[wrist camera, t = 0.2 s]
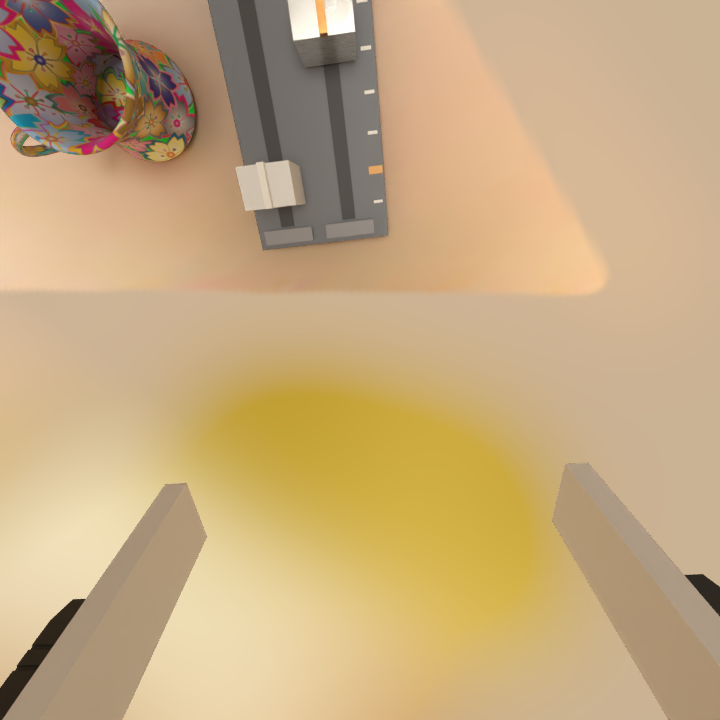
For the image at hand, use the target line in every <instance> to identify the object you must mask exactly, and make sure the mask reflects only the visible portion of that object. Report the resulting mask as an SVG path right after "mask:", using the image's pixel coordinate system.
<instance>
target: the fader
mask: <svg viewBox="0 0 720 720" xmlns="http://www.w3.org/2000/svg"><path fill="white" fill-rule="evenodd" d="M287 1H288V8H289V14H290V21H291V28H292V35H293V41H294V43H295V45H296V48H297V50H298V52H299V55H300V57H301V59H302V61H303V64H304V66H305V68H307V67H314V66H321V65H328V64H335V63H342V62H349V61H355V60H356V40H355V25H354V14H353V3H352V0H287Z"/></svg>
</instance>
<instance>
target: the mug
mask: <svg viewBox="0 0 720 720" xmlns="http://www.w3.org/2000/svg"><path fill="white" fill-rule="evenodd" d="M0 107H1V109H2V110H3V111H4V112H5V113H6V115H7V116H8V117H9V118H10V119H11V120H12V121H13V122H14V123H15V124H16V125H17V127H16V128H15V130H14V131H13V133H12V135H11V144H12V146H13V147H14V148H15V149H16V150H17V151H18V152H19V153H21V154H22V155H25V156H29V157H38V156H45V155H49V154H53V153H57V152H64V153H68V154H75V155H88V154H94V153H98V152H100V151H103V150H105V149H107V148H109V147H110V146H112V145H113V144H115V143H117V144H118V145H119V146H120V147H121V148H123V149H124V150H125V151H127V152H128V153H130V154H131V155H133V156H135V157H137V158H139V159H142V160H146V161H151V162H163V161H167V160H170V159H173V158H175V157H176V156H178V155H179V154H180V153H182V152H183V151H184V149H185V148H186V147H187V145H188V144H189V142H190V140H191V138H192V135H193V132H194V127H195V107H194V101H193V97H192V94H191V91H190V89H189V86H188V84H187V82H186V80H185V78H184V76H183V75H182V73H181V72H180V70H179V69H178V67H177V66H176V65H175V64H174V63H173V61H172V60H171V59H170V58H169V57H168V56H166V55H165V54H164V53H163V52H161V51H160V50H158V49H157V48H155V47H153V46H151V45H149V44H147V43H144V42H140V41H134V40H125V41H124V40H123V38H122V36H121V34H120V32H119V30H118V28H117V26H116V25H115V23H114V21H113V20H112V18H111V16H110V15H109V14H108V12H107V11H106V9H105V8H104V7H103V5H102V4H101V3H100V2H99V0H0ZM29 136H31V137H32V138H34V139H35V140H37V141H38V142H40V143H42V145H36V146H23V144H24V142H25V140H26V139H27V138H28V137H29Z"/></svg>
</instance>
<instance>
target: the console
mask: <svg viewBox="0 0 720 720" xmlns="http://www.w3.org/2000/svg"><path fill="white" fill-rule="evenodd" d="M352 3H353V14H354V25H355V40H356V60H355V61H349V62H342V63H335V64H328V65H321V66H314V67H307V68H305V66H304V64H303V61H302V59H301V57H300V55H299V52H298V50H297V48H296V45H295V43H294V41H293V35H292V28H291V21H290V14H289V8H288V1H287V0H208V4H209V8H210V13H211V17H212V22H213V26H214V31H215V35H216V40H217V44H218V49H219V53H220V58H221V62H222V67H223V71H224V76H225V80H226V85H227V89H228V94H229V98H230V103H231V107H232V112H233V116H234V121H235V126H236V130H237V135H238V139H239V144H240V148H241V153H242V157H243V162H244V166H240V167H235V169H236V173H237V177H238V182H239V186H240V190H241V195H242V199H243V203H244V208H245V211H251V210H254V211H255V216H256V220H257V225H258V229H259V234H260V238H261V243H262V247H263V250H269V249H277V248H286V247H294V246H303V245H311V244H320V243H329V242H337V241H346V240H354V239H363V238H371V237H380V236H388V221H387V207H386V194H385V180H384V166H383V152H382V139H381V125H380V111H379V97H378V84H377V70H376V56H375V42H374V29H373V15H372V1H371V0H352Z"/></svg>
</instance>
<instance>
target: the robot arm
mask: <svg viewBox="0 0 720 720" xmlns="http://www.w3.org/2000/svg"><path fill="white" fill-rule="evenodd" d="M552 522H553V523H554V525H555V527H556V529H557V531H558V532H559V534H560V536H561V537H562V539H563V541H564V542H565V544H566V546H567V548H568V549H569V551H570V552H571V554H572V556H573V558H574V560H575V561H576V563H577V565H578V566H579V568H580V570H581V571H582V573H583V575H584V576H585V578H586V580H587V582H588V583H589V585H590V587H591V588H592V590H593V592H594V594H595V595H596V597H597V599H598V600H599V602H600V604H601V606H602V607H603V609H604V611H605V612H606V614H607V616H608V618H609V619H610V621H611V623H612V624H613V626H614V628H615V629H616V631H617V633H618V634H619V636H620V638H621V640H622V641H623V643H624V645H625V647H626V648H627V650H628V652H629V653H630V655H631V657H632V658H633V660H634V662H635V664H636V665H637V667H638V669H639V670H640V672H641V674H642V676H643V677H644V679H645V681H646V682H647V684H648V686H649V688H650V689H651V691H652V693H653V694H654V696H655V698H656V699H657V701H658V703H659V705H660V706H661V708H662V710H663V711H664V713H665V715H666V716H667V718H668V720H720V587H719V586H718V585H716V584H715V583H714V582H712V581H711V580H710V579H708V578H707V577H706V576H704V575H703V574H698V575H684V574H683V573H682V572H681V571H680V569H679V568H678V567H677V566H676V565H675V564H674V562H673V561H672V560H671V559H670V558H669V557H668V556H667V554H666V553H665V552H664V551H663V550H662V548H661V547H660V546H659V545H658V544H657V543H656V541H655V540H654V539H653V538H652V537H651V535H650V534H649V533H648V532H647V531H646V530H645V528H644V527H643V526H642V525H641V524H640V523H639V521H638V520H637V519H636V518H635V517H634V516H633V514H632V513H631V512H630V511H629V510H628V509H627V507H626V506H625V505H624V504H623V503H622V502H621V500H620V499H619V498H618V497H617V496H616V494H615V493H614V492H613V491H612V490H611V489H610V488H609V486H608V485H607V484H606V483H605V482H604V480H603V479H602V478H601V477H600V476H599V475H598V473H597V472H596V471H595V470H594V469H593V468H592V466H591V465H590V464H589V463H569V464H565V466H564V471H563V475H562V480H561V484H560V488H559V493H558V497H557V501H556V506H555V510H554V514H553V519H552ZM206 537H207V535H206V533H205V530H204V527H203V525H202V522H201V520H200V517H199V514H198V512H197V509H196V507H195V504H194V501H193V499H192V496H191V493H190V491H189V488H188V486H187V484H186V483H179V484H165V486H164V487H163V488H162V490H161V491H160V493H159V494H158V496H157V497H156V499H155V500H154V502H153V503H152V504H151V506H150V507H149V509H148V510H147V512H146V513H145V515H144V516H143V517H142V519H141V520H140V522H139V523H138V525H137V526H136V527H135V529H134V530H133V532H132V533H131V535H130V536H129V538H128V539H127V540H126V542H125V543H124V545H123V546H122V548H121V549H120V551H119V552H118V554H117V555H116V556H115V558H114V559H113V561H112V562H111V564H110V565H109V567H108V568H107V569H106V571H105V572H104V574H103V575H102V577H101V578H100V580H99V581H98V582H97V584H96V585H95V587H94V588H93V590H92V591H91V593H90V594H89V595H88V597H87V598H86V599H73V600H72V601H71V602H70V603H69V604H68V605H66V606H65V607H64V608H63V609H62V610H61V611H60V612H59V613H58V614H57V615H56V616H55V617H54V618H53V619H51V620H50V622H49V623H48V624H47V626H46V627H45V628H44V630H43V631H42V632H41V634H40V635H39V636H38V638H37V639H36V640H35V642H34V643H33V645H32V648H31V650H28V651H27V653H26V654H25V655H24V657H23V658H22V659H21V661H20V662H19V664H18V665H17V668H16V670H15V671H13V672H12V673H11V674H10V676H9V677H8V678H7V680H6V681H5V682H4V684H3V685H2V686H1V688H0V720H122V719H123V717H124V715H125V713H126V710H127V709H128V706H129V704H130V702H131V700H132V698H133V696H134V693H135V691H136V689H137V687H138V685H139V683H140V680H141V678H142V676H143V674H144V672H145V670H146V667H147V665H148V663H149V661H150V659H151V657H152V654H153V652H154V650H155V648H156V646H157V644H158V641H159V639H160V637H161V635H162V633H163V631H164V629H165V626H166V624H167V622H168V620H169V618H170V616H171V613H172V611H173V609H174V607H175V605H176V603H177V600H178V598H179V596H180V594H181V591H182V590H183V587H184V585H185V583H186V581H187V578H188V577H189V574H190V572H191V570H192V568H193V566H194V564H195V561H196V559H197V557H198V555H199V553H200V551H201V548H202V546H203V544H204V542H205V540H206Z"/></svg>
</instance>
